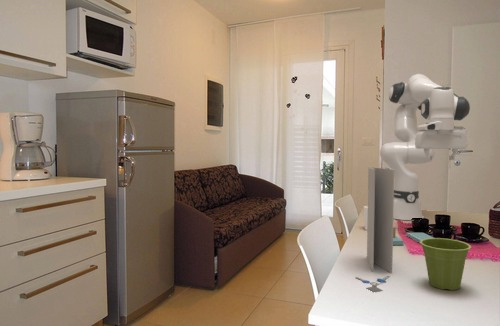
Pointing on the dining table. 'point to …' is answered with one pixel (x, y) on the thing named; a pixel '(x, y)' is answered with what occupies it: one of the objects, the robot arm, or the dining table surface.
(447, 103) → the robot arm
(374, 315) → the dining table surface
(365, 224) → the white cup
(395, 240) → the stub
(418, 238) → the teal flat block
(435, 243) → the plant pot
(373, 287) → the blue grey flat piece
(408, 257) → the dining table surface
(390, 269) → the brochure
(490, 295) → the dining table surface
